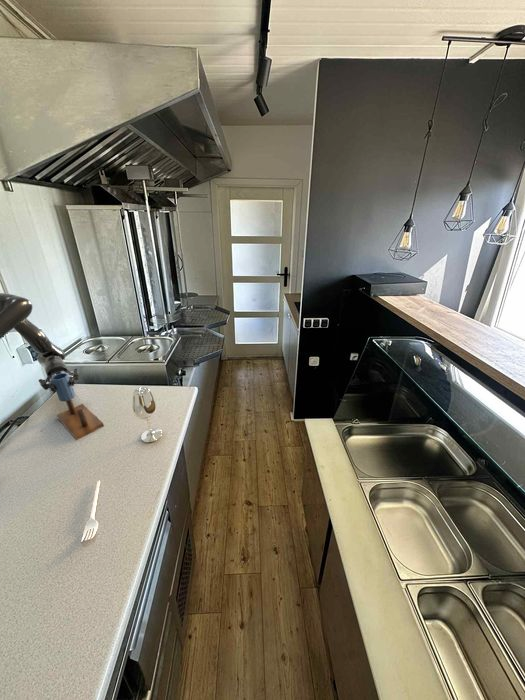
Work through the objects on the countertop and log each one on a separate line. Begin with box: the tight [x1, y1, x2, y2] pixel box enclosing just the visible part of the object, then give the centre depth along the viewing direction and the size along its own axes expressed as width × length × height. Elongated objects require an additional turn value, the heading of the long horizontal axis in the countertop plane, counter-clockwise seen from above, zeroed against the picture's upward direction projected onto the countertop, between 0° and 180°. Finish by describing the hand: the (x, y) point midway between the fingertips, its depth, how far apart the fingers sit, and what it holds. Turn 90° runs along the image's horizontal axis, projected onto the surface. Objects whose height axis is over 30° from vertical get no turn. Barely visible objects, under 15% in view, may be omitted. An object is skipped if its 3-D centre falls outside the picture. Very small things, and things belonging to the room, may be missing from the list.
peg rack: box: [56, 399, 105, 441], centre depth 114 cm, size 10×20×8 cm, turn 50°
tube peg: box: [51, 373, 76, 402], centre depth 113 cm, size 5×5×10 cm
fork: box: [80, 480, 101, 543], centre depth 81 cm, size 3×20×2 cm, turn 20°
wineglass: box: [131, 386, 163, 443], centre depth 104 cm, size 8×8×20 cm
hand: (63, 386), depth 111 cm, fingers closed on tube peg, 5 cm apart
